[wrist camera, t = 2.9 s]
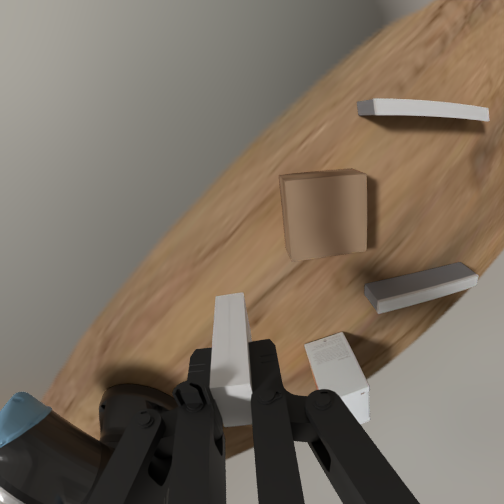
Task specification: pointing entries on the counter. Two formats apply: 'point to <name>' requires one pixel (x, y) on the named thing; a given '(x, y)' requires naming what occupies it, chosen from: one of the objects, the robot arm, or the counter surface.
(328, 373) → the small box
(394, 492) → the robot arm
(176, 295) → the counter surface
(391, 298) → the corridor walls
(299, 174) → the walnut block
